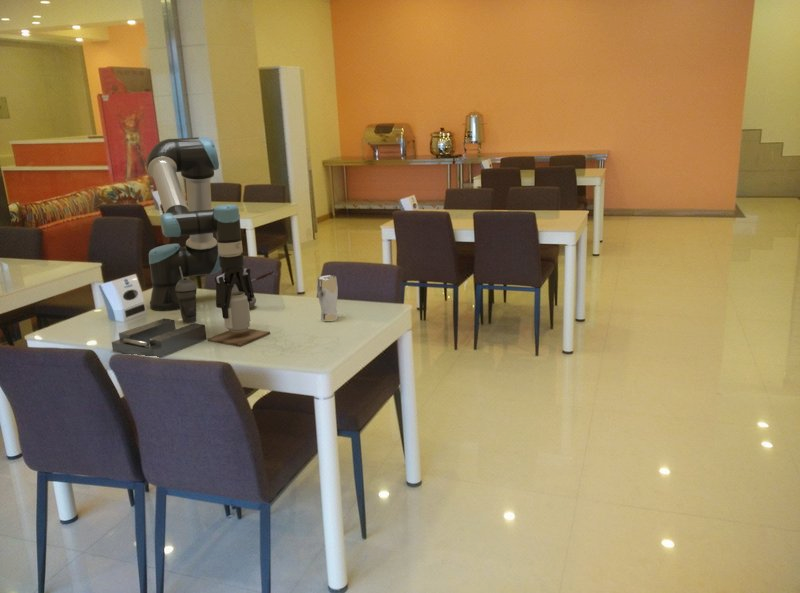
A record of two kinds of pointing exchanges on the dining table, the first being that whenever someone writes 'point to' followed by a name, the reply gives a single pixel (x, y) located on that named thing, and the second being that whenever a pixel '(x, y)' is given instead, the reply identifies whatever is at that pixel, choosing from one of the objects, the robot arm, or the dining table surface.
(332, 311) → the beer glass
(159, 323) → the grey stepped tray
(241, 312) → the can
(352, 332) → the dining table surface
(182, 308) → the beverage cup
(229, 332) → the walnut board
